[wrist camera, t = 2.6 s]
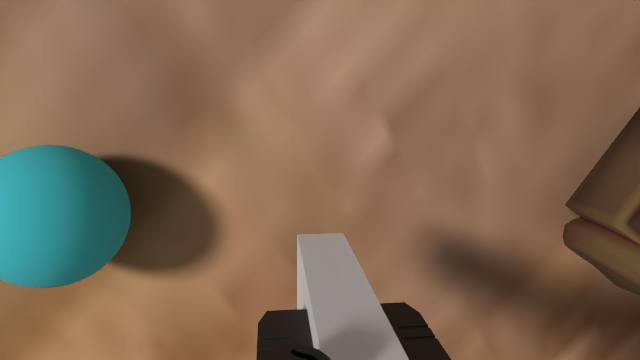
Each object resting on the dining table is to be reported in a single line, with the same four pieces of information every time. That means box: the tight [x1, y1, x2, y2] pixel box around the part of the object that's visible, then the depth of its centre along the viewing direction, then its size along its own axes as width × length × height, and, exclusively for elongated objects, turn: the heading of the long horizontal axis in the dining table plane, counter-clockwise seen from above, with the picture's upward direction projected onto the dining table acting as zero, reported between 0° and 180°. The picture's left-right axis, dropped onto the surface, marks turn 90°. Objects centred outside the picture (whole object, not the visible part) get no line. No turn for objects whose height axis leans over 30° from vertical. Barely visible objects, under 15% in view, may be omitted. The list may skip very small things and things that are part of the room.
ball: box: [0, 145, 131, 288], centre depth 17 cm, size 6×6×6 cm
